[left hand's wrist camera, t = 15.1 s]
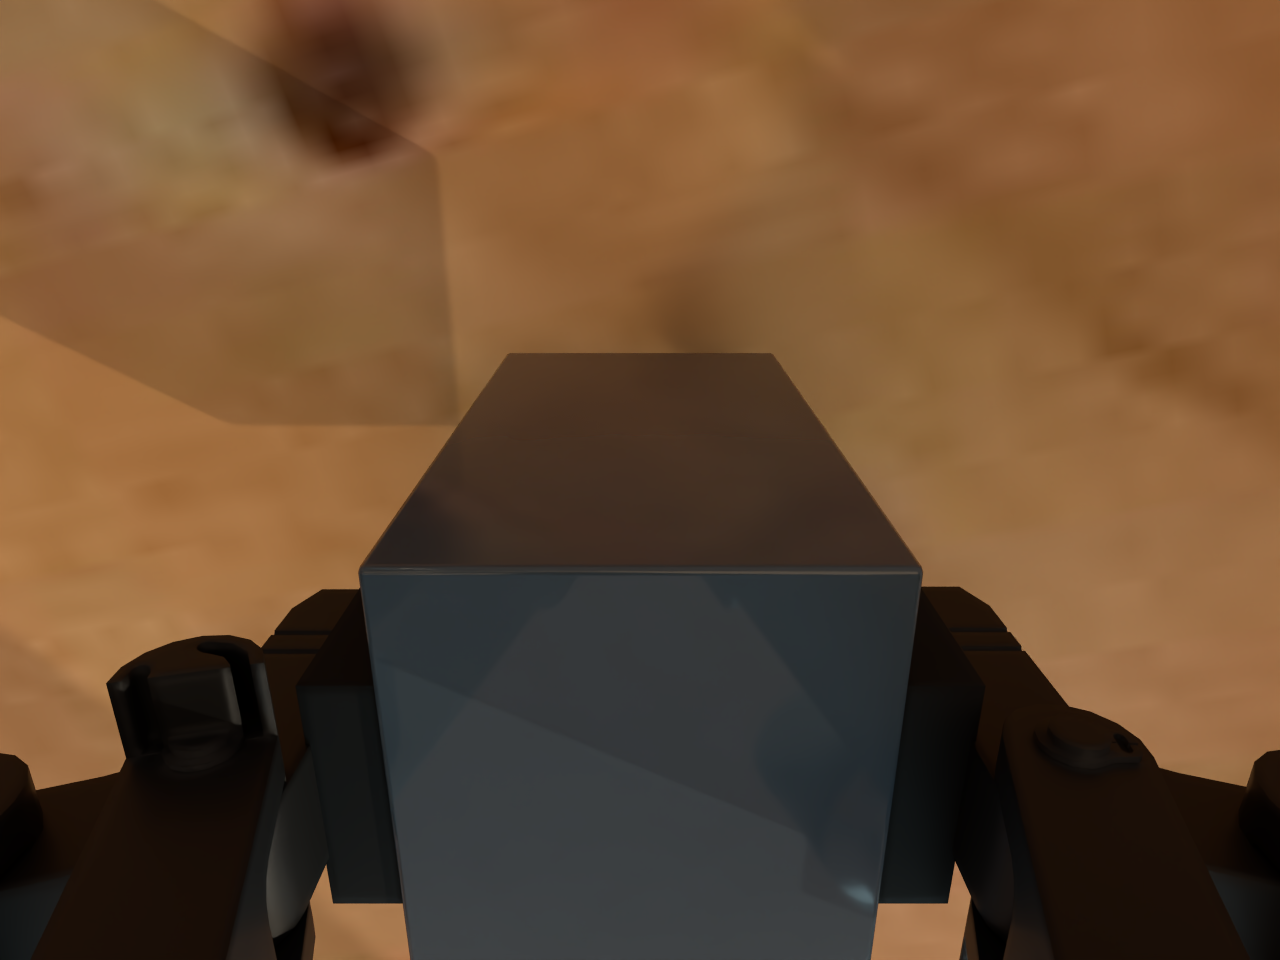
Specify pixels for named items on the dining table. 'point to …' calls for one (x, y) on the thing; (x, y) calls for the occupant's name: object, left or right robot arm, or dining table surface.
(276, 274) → the dining table surface
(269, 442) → the dining table surface
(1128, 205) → the dining table surface
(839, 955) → the block
